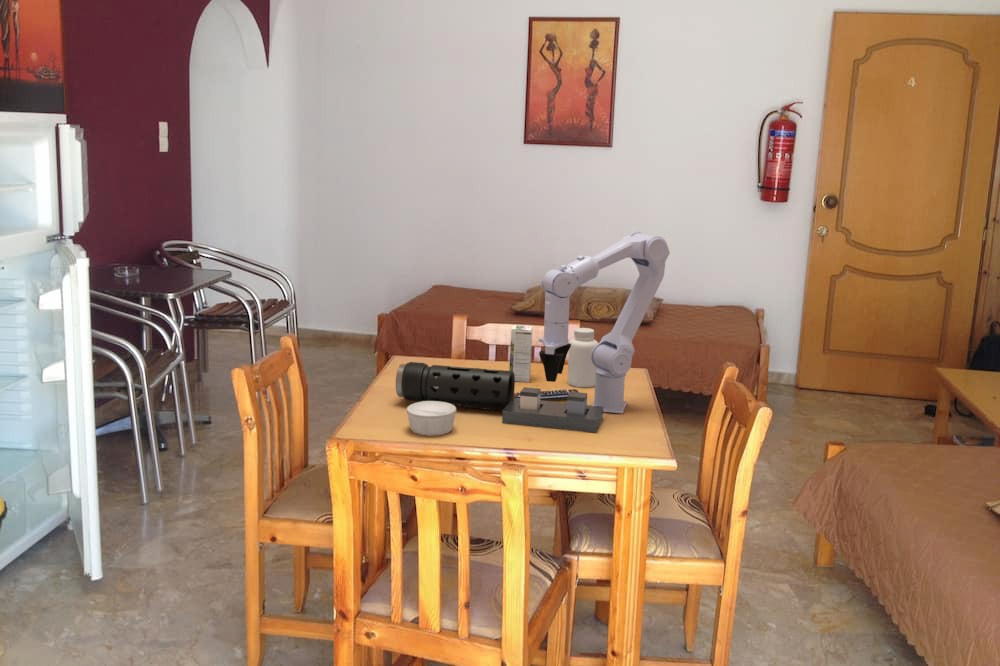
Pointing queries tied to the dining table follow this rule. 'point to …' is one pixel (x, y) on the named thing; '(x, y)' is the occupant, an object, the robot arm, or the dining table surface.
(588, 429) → the block
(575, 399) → the twin plug
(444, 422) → the ramekin
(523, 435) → the dining table surface
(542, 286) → the robot arm
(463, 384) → the muzzle brake
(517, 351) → the syrup box
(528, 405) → the plug
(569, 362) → the pill bottle
